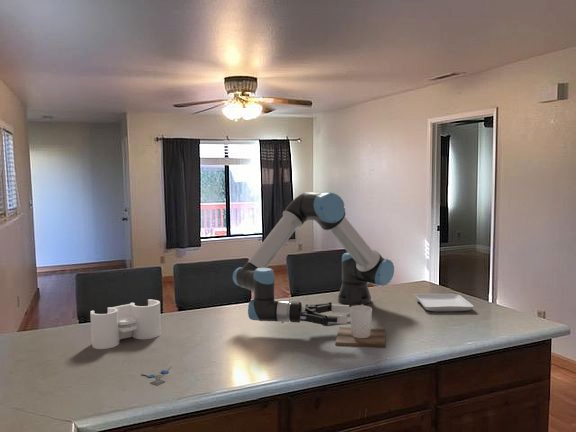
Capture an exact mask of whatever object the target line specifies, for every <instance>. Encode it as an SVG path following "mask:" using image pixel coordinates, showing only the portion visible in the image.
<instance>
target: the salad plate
mask: <svg viewBox="0 0 576 432" xmlns="http://www.w3.org/2000/svg"><path fill="white" fill-rule="evenodd" d="M413 296H414V298H415V299H416V300H417V301H418V302H419V303H420V304H421V306H423V308H424V309H425V310H426V311H429V312H467V311H470V310H473V309H474V308H475V306H474V305H473V304H472V303H471V302H469V301H468V300H467V299H465V298H464V297H463V296H461V295H460V294H454V293H453V294H451V293H415V294H414V293H413Z"/></svg>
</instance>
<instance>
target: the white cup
mask: <svg viewBox="0 0 576 432" xmlns="http://www.w3.org/2000/svg"><path fill="white" fill-rule="evenodd" d="M349 312H350V317H349V318H350V319H349V320H350V327H351V335H352V336H353V337H356V338H368V337H370V330H371V328H372V320H373V319H372V315H373V308H372V307H371V306H369V305H365V304H364V305H351V306H349Z"/></svg>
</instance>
